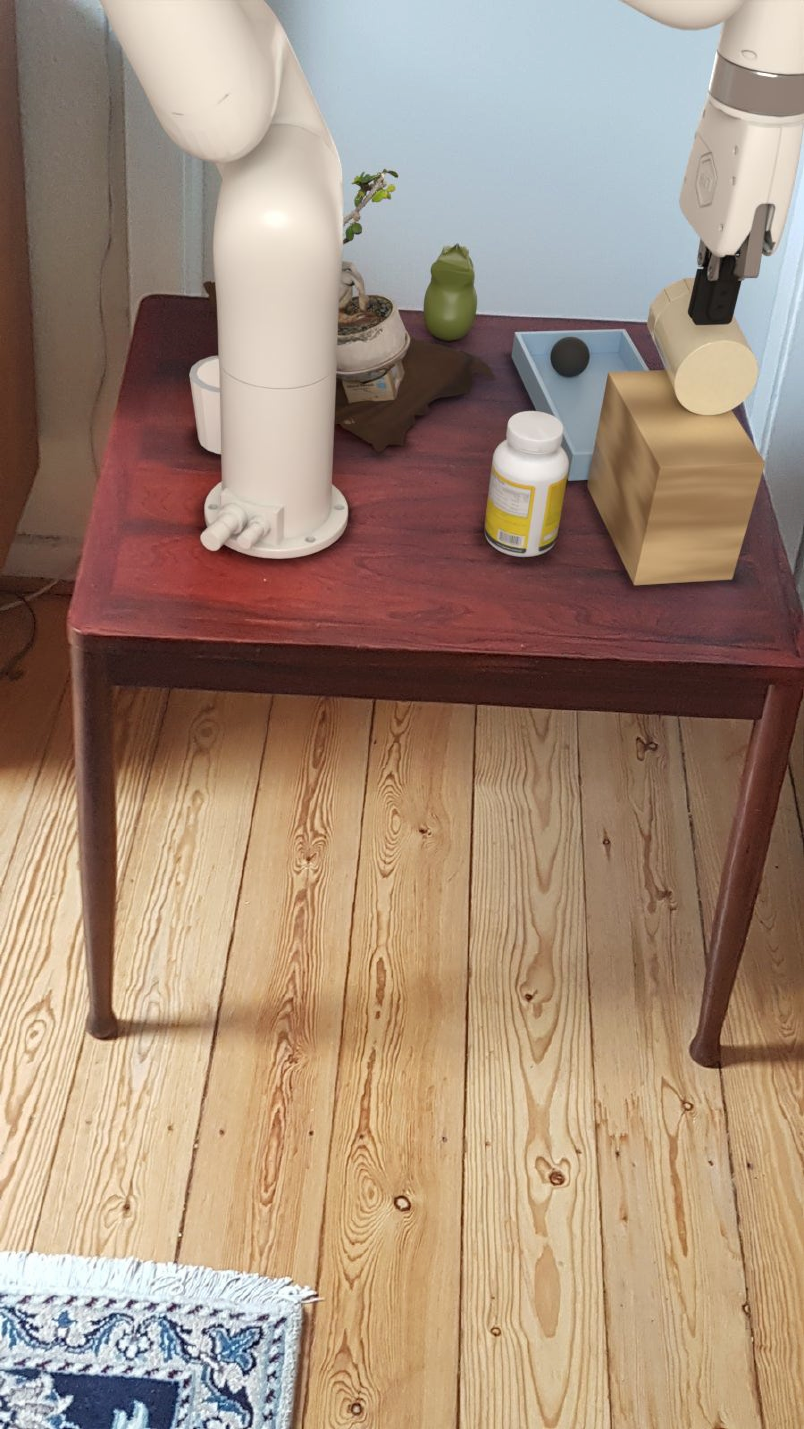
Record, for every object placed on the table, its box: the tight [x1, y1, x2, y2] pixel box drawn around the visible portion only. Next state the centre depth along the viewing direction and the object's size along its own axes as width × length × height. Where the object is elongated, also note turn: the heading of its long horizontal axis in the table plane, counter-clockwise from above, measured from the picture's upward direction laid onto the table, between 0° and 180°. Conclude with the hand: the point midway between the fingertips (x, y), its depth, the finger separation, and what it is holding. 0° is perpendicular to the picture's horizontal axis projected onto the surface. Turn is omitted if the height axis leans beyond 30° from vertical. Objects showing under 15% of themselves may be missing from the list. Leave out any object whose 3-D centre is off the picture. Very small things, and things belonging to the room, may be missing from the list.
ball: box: [550, 337, 590, 377], centre depth 146 cm, size 4×4×4 cm
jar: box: [646, 277, 759, 415], centre depth 123 cm, size 7×7×11 cm
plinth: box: [586, 369, 766, 586], centre depth 125 cm, size 15×9×12 cm, turn 10°
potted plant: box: [202, 168, 496, 452], centre depth 138 cm, size 20×19×25 cm
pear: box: [422, 242, 478, 342], centre depth 149 cm, size 6×5×10 cm
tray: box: [510, 328, 650, 482], centre depth 142 cm, size 23×12×3 cm, turn 10°
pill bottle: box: [483, 410, 569, 558], centre depth 123 cm, size 6×6×12 cm
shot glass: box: [188, 355, 221, 455], centre depth 133 cm, size 7×7×7 cm
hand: (708, 319), depth 114 cm, fingers closed
